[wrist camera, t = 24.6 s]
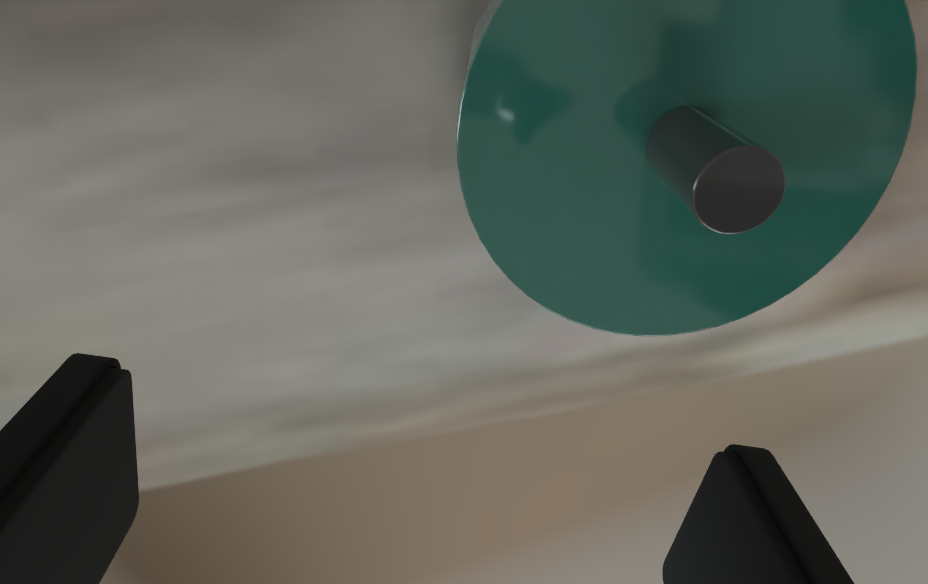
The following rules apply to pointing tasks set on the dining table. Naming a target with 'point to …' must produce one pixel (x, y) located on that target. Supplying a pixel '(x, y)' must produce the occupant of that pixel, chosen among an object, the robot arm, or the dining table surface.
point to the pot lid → (679, 149)
